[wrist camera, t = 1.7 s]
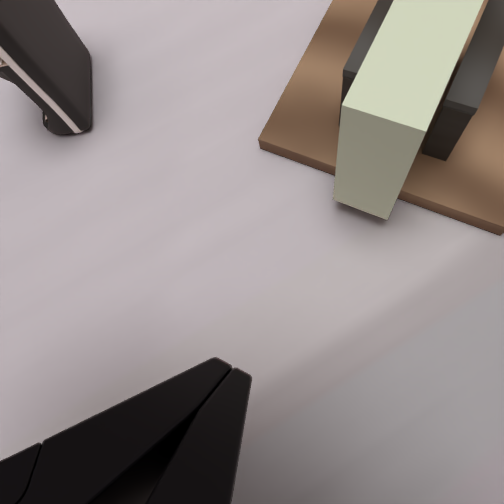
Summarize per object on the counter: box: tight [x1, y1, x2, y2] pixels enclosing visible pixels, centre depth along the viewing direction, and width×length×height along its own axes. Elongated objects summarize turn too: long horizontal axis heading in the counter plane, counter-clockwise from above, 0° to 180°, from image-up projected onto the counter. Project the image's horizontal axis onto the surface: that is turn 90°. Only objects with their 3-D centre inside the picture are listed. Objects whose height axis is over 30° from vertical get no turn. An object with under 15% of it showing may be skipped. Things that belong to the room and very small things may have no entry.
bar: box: [333, 0, 484, 220], centre depth 19 cm, size 11×3×8 cm, turn 153°
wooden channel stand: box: [258, 0, 504, 235], centre depth 23 cm, size 16×14×6 cm
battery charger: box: [0, 0, 91, 134], centre depth 23 cm, size 7×4×11 cm, turn 8°
